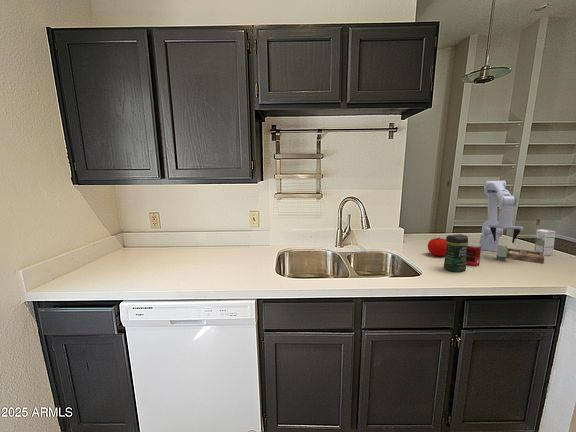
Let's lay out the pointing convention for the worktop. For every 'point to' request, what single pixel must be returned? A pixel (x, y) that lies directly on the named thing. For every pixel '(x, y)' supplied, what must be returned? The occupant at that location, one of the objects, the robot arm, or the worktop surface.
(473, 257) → the canned food
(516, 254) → the socket board
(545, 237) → the syrup box
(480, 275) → the worktop surface
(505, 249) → the grey-green block
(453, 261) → the coffee jar
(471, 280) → the worktop surface
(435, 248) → the tomato
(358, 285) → the worktop surface
